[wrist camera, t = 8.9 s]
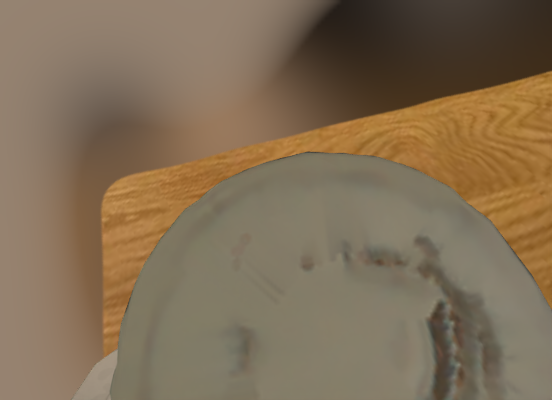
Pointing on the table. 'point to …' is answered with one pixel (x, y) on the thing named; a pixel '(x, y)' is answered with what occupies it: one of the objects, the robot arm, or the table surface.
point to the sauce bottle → (334, 294)
